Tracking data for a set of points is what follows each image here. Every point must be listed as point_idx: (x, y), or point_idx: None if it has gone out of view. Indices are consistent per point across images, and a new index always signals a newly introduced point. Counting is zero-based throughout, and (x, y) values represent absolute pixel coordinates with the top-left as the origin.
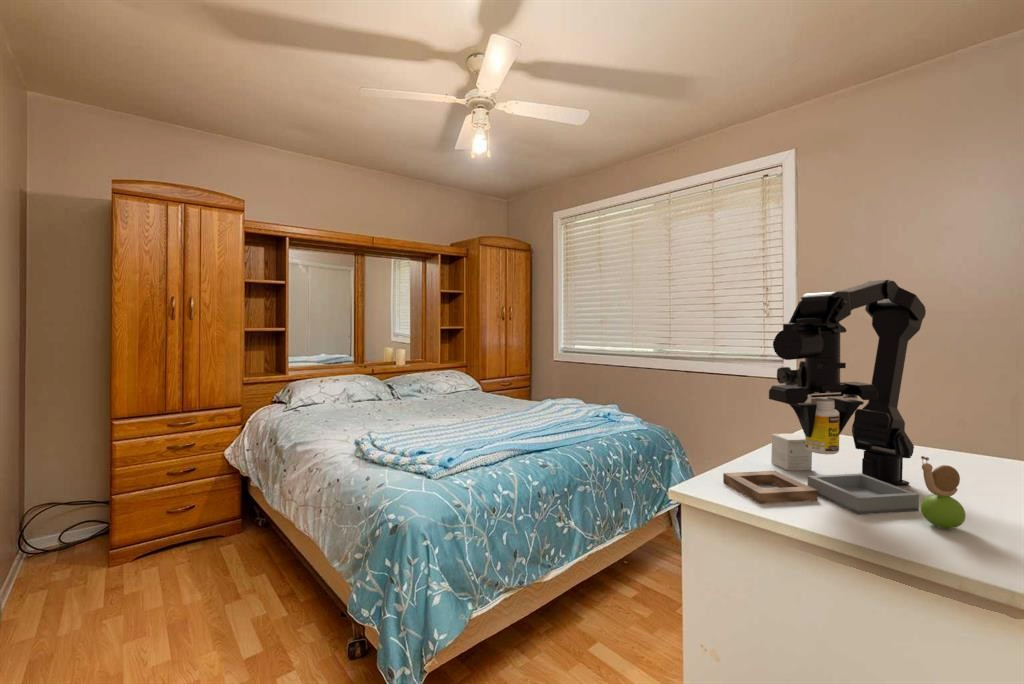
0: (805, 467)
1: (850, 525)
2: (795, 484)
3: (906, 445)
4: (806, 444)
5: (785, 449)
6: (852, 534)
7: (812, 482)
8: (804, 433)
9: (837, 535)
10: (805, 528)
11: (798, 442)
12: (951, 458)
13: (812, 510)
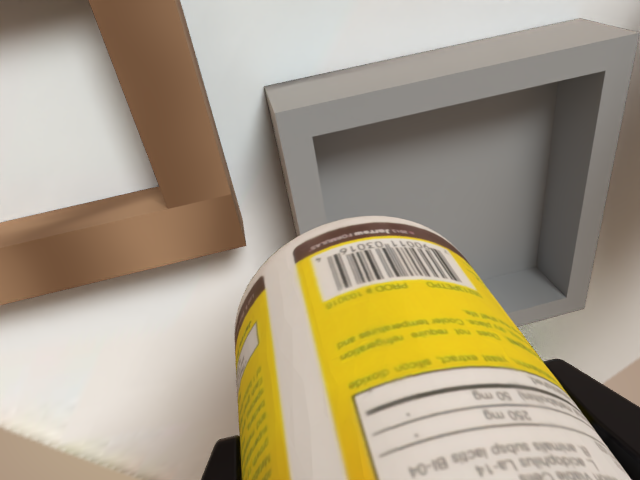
0: None
1: (236, 403)
2: (164, 173)
3: None
4: (235, 347)
5: None
6: (205, 449)
7: (279, 141)
8: (207, 466)
9: (157, 462)
10: (75, 446)
11: None
12: None
13: (165, 319)
